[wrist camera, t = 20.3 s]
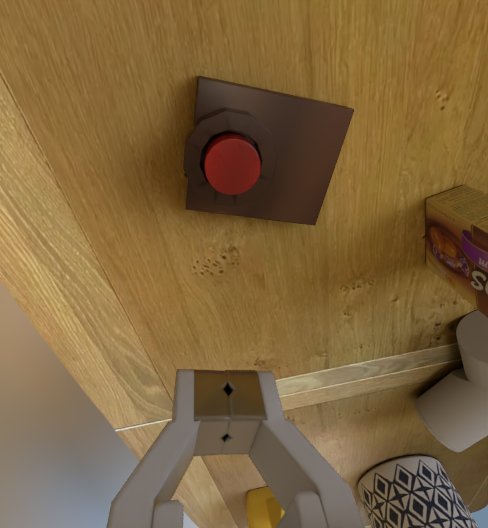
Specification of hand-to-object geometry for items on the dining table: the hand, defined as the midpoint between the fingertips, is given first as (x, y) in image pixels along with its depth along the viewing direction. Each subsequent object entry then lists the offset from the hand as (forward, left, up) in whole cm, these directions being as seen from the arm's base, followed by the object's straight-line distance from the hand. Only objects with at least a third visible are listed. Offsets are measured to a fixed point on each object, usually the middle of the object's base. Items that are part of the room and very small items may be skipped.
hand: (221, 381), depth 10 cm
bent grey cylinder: (+41, -23, -21) cm, 51 cm away
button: (+2, +2, -18) cm, 18 cm away
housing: (+5, +2, -21) cm, 22 cm away
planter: (+49, -59, -21) cm, 79 cm away
